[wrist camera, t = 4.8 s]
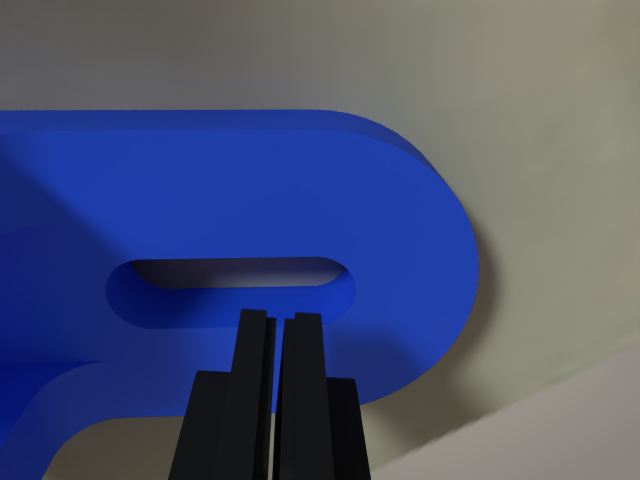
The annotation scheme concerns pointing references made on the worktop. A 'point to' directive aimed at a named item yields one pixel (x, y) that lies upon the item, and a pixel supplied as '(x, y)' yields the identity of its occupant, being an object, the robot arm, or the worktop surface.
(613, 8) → the worktop surface
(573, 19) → the worktop surface
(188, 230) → the bracket
